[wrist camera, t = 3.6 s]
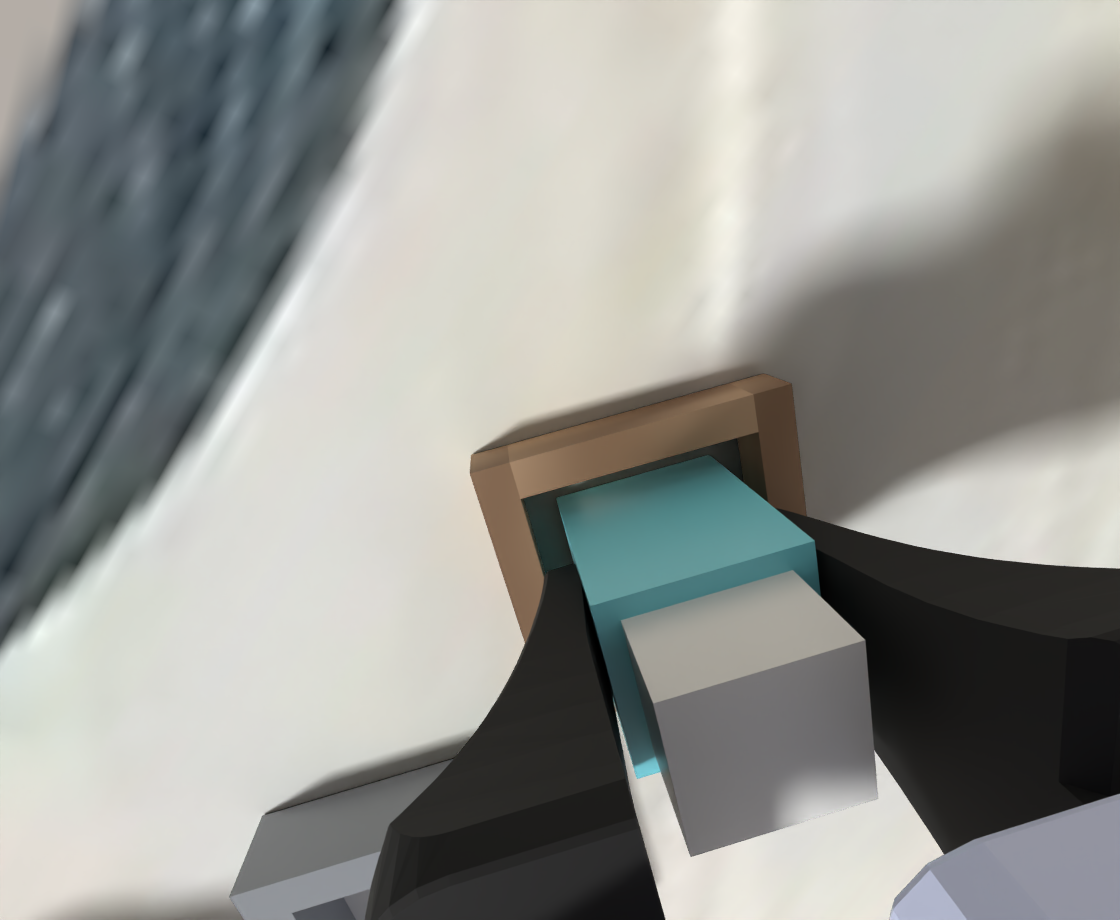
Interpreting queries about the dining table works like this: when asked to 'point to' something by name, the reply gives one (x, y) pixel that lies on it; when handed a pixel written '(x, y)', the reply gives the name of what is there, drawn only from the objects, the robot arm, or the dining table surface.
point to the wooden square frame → (634, 464)
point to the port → (323, 852)
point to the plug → (722, 652)
